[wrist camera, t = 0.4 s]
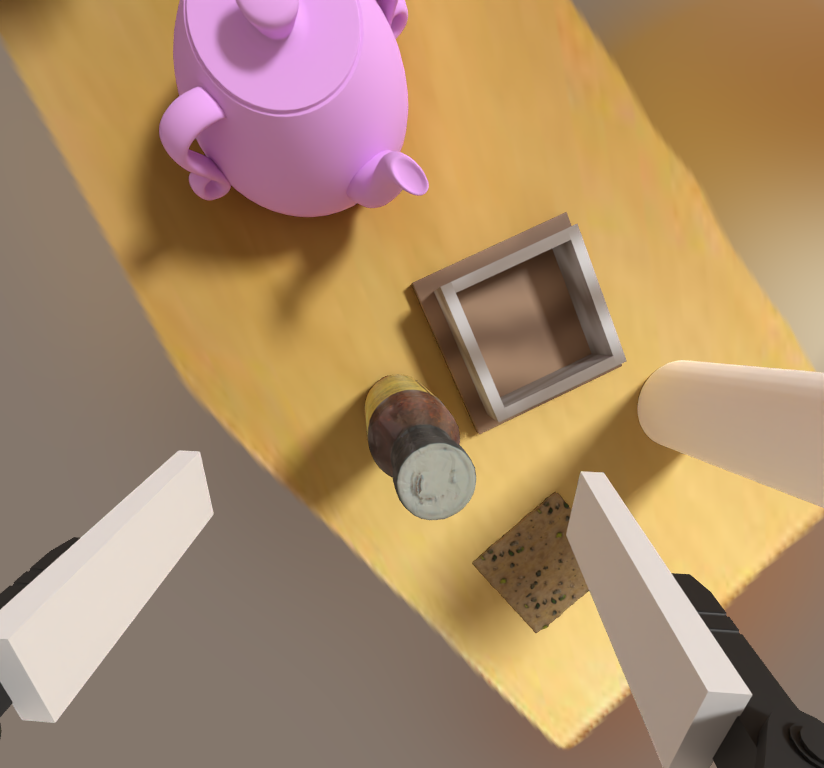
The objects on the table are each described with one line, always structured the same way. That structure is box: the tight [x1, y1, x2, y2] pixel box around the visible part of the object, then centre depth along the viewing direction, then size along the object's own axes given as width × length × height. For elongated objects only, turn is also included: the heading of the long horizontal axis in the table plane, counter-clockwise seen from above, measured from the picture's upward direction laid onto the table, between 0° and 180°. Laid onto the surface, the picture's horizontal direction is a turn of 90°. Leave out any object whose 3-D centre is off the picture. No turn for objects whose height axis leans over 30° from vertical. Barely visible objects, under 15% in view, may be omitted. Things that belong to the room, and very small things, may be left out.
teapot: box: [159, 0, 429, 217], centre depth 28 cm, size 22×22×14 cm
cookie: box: [472, 492, 589, 633], centre depth 42 cm, size 12×12×1 cm
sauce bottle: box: [365, 375, 476, 520], centre depth 28 cm, size 7×6×20 cm
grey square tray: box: [412, 212, 626, 434], centre depth 36 cm, size 16×16×4 cm
